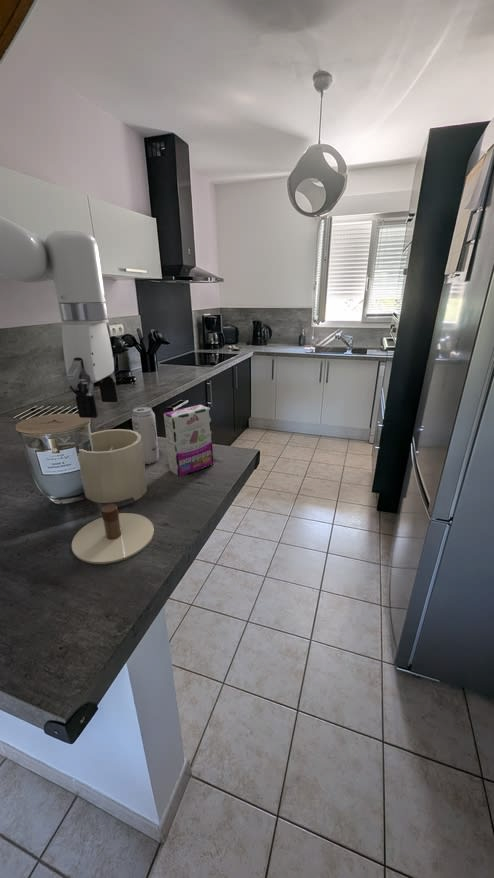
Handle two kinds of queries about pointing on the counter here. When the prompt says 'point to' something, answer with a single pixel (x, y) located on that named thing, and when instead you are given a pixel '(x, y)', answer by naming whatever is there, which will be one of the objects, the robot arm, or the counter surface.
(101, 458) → the canister
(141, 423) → the energy drink can
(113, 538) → the lid
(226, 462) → the counter surface
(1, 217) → the robot arm
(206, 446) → the candy bar box
